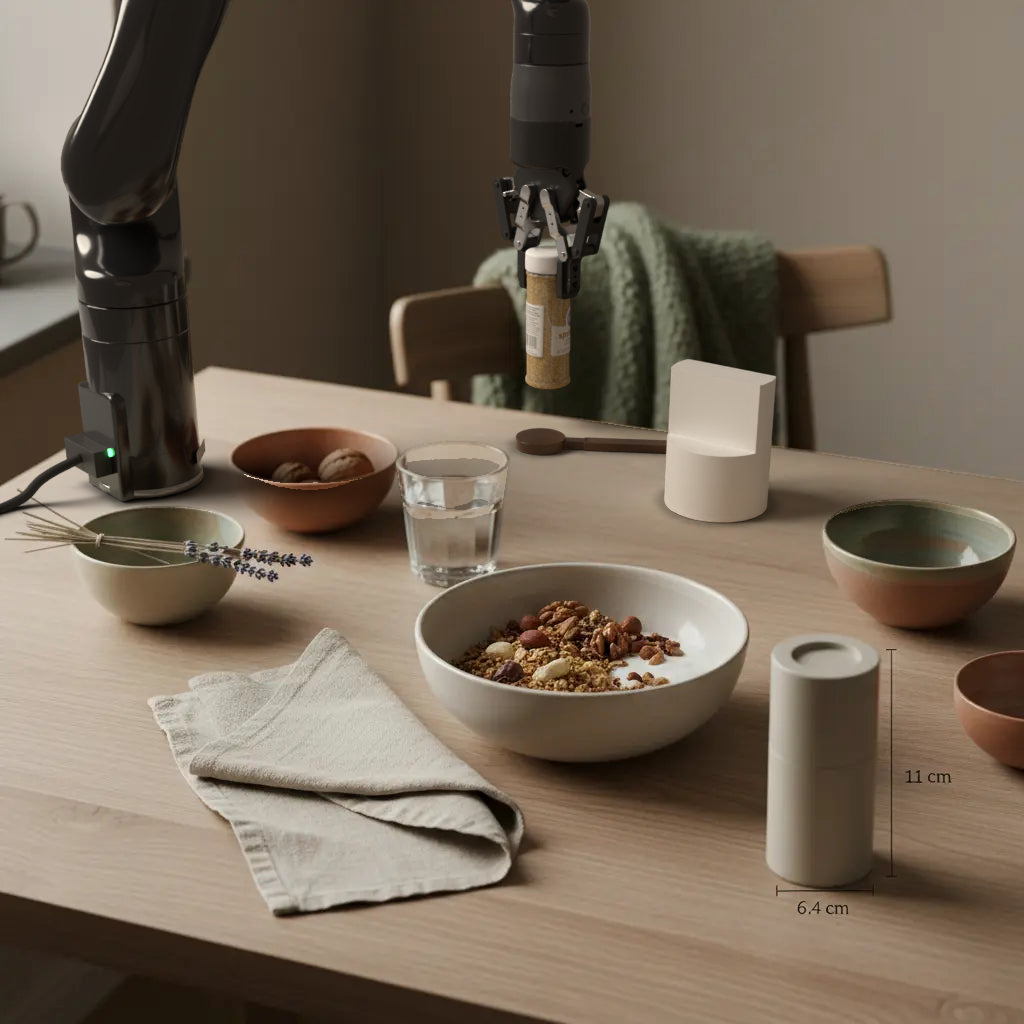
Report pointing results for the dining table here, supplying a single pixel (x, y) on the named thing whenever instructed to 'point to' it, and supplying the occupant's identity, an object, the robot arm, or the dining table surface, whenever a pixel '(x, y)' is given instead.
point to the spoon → (581, 443)
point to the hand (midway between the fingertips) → (548, 291)
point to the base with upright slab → (718, 442)
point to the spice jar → (546, 322)
